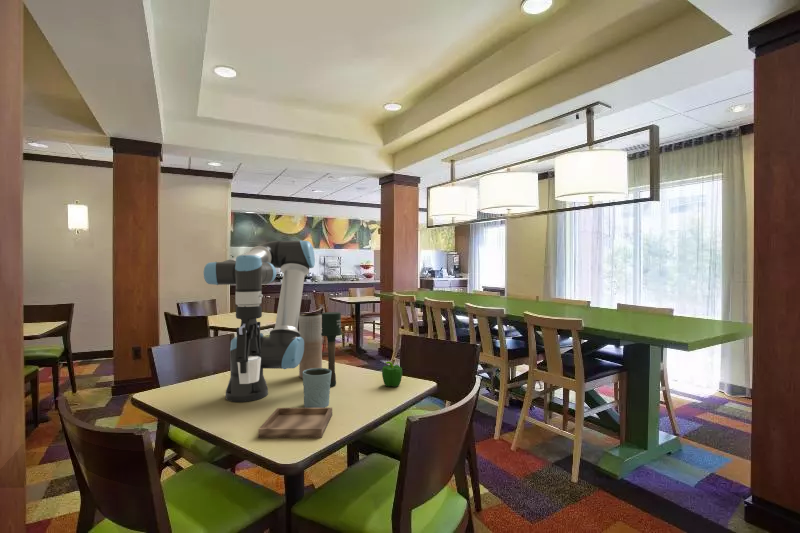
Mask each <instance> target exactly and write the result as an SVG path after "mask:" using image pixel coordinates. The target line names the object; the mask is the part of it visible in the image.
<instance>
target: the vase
mask: <svg viewBox="0 0 800 533" xmlns="http://www.w3.org/2000/svg"><path fill="white" fill-rule="evenodd" d="M298 331H299V333H300V334H301V336H300V337H301V338H303V340H304V353H303V357H302V360H301V362H300V364H299V365H298V367H299V368H298V369H299V370H298V371H299V373H298V376H299V378H300V379H303V371H304V370H307V369H312V368H323V353H322V352H323V346H322V345H323V343H322V342H323V340H322V337H323V336H322V335H321V333H322V313H316V312H315V313H314V312H313V313H310V312H309V313H308V312H307V313H301V314H299V321H298Z"/></svg>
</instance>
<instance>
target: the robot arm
mask: <svg viewBox="0 0 800 533" xmlns="http://www.w3.org/2000/svg"><path fill="white" fill-rule="evenodd" d="M315 263H316V259H315V250H314V247H313V245H312V242H310V241H309V240H301V239H300V240H272V241H267V242H265V243H261V244H259V245H256V246H254V247H252V248H250V250H249V251H248V252H244V253H243V254H240V255H237V256H235V257H231V258H229V259H226V260H223V261H218V262H217V261H213V262H212V261H211V262H207V263H206V264H205V266H204V268H203V278H204V282H206V284H208V285H213V286H215V285H216V286H219V285H220V286H222V285H223V286H224V285H225V286H227V285H229V286H230V285H232V286H233V285H234V286H235V305H237V306H236V307H235V318H236V319H238V320H241V322H240V326H239V327H236V336H235V337H233V338H232V339H231V340H230V348H229V354H230V355H229V357H230V360H229V362H230V365H229V366H230V367H229V368H230V377H229V381H228V383H227V386H226V390H225V399H226V400H227V401H229V402H235V403H237V402H238V403H243V402H251V401H257V400H260V399H263V398H265V397H267V396H268V394H269V388H268V384H267V380H266V379H265V375H264V369H271V370H272V369H274V370H275V369H277V370H280V369H281V370H282V369H283V370H287V369H295V368H297V367H299V364H300V362H301V360H302V357H303V353H304V340H303V338H301V337H300V336H301V334H300V333H299V315H300V313H301V307H302V306H301V305H302V297H303V289H304V283H305V276H307V275H308V274H310V273H309V272H310V269H312V268H314V267H315V266H316V264H315ZM277 269H280V271H281V272H282V274H283V276H282V281H281V288H280V293H279V300H278V306H277V313H276V319H275V323H274V324H275V325H274V327H273V328H272V329H271V330H270V331H269V336H268V337H267V336H266V337H264V334H263V333H262V332H261V321H258V320H257V319H260V318H262V316H263V312H262V311H263V308H262V306H261V304H262V302H263V301H262V298H264V295H263V294H262V291H263V290H262V288H263V286H262V285H265V286H266V285H268V284H271V283H272V282H274V280H276V277H277ZM249 356H259V357H261V363H260V374H259V381H257V382H254V383H250V363H249V361H248V357H249ZM237 362H239V364H240V382H239V372H238V363H237Z"/></svg>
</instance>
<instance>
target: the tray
mask: <svg viewBox="0 0 800 533" xmlns="http://www.w3.org/2000/svg"><path fill="white" fill-rule="evenodd" d="M332 417H333V407H325V408H305V407H276V409H275V410H274V411H273V412H272V414H270V416H269V417H268V418H267V419H266V420H265V421H264V422H263V423H262V425H261V426H260V427H259V428H258V429H257V430H258V439H316V438H317V439H319V438H320V439H322V438H323V436H324V433H325V431H326V429H327V427H328V425H329V423H330V420H331V419H332Z"/></svg>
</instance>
